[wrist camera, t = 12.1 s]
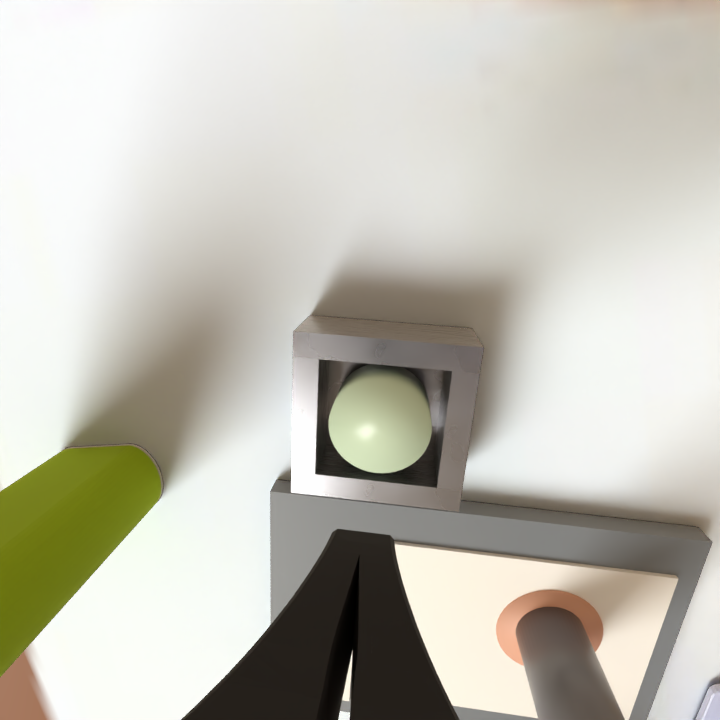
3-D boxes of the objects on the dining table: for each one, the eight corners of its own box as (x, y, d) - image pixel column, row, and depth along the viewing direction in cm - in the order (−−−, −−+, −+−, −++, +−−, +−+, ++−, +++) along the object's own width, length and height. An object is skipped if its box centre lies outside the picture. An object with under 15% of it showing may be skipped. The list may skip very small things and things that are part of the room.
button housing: (472, 328, 19) (483, 347, 16) (451, 472, 21) (458, 511, 18) (310, 315, 19) (293, 331, 16) (306, 456, 21) (290, 492, 18)
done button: (434, 367, 18) (437, 384, 16) (424, 453, 19) (425, 478, 17) (338, 358, 18) (330, 374, 16) (334, 443, 20) (326, 467, 18)
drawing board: (697, 526, 20) (717, 546, 19) (624, 735, 25) (635, 762, 23) (276, 479, 22) (268, 495, 21) (275, 682, 26) (269, 705, 25)
